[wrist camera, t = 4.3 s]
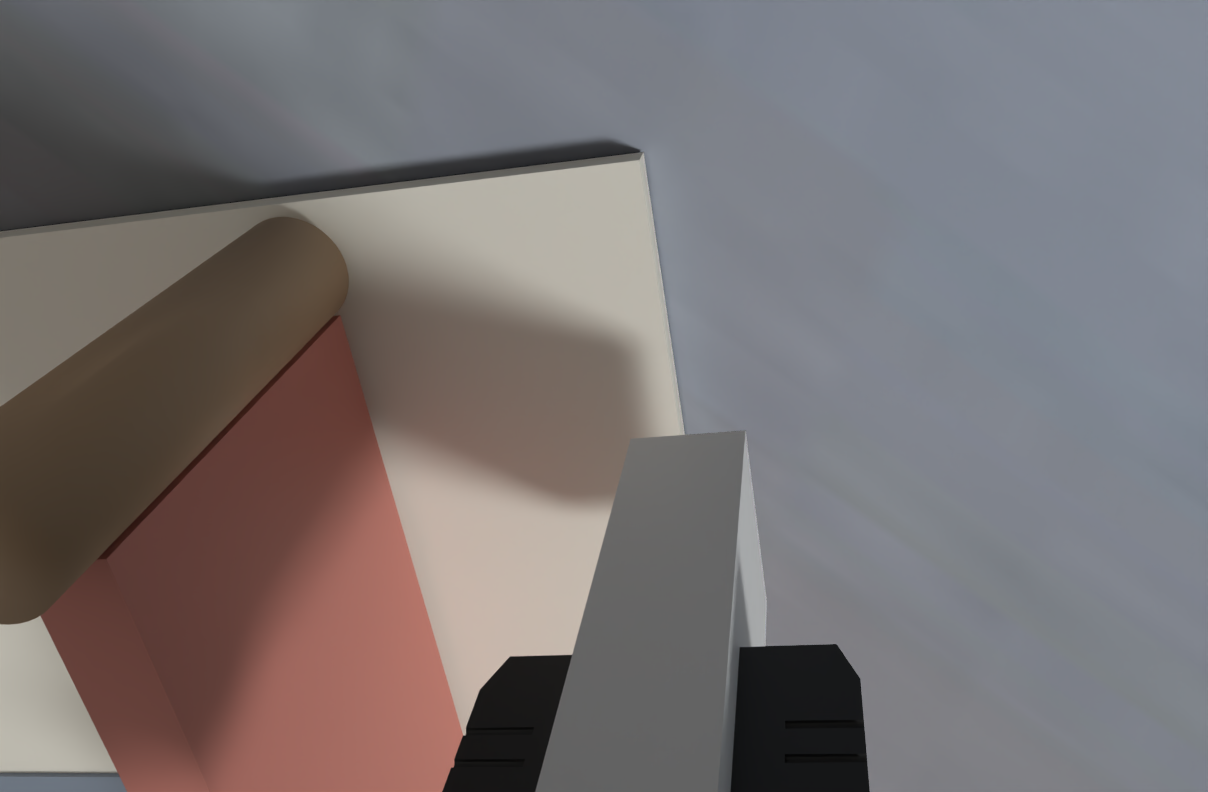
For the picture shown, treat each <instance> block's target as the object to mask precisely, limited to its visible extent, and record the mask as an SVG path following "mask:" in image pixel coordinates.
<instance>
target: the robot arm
mask: <svg viewBox="0 0 1208 792" xmlns="http://www.w3.org/2000/svg"><path fill="white" fill-rule="evenodd" d="M766 613H767V599H766V591H765V583H764V575H763V567H762V559H761V551H760V543H759V535H758V527H757V519H756V511H755V503H754V495H753V486H752V478H751V470H750V462H749V454H748V446H747V438H746V430H745V431H732V432H718V433H704V434H690V435H676V436H662V437H648V438H634V439H630V443H629V447H628V450H627V454H626V458H625V462H624V465H623V469H622V473H621V476H620V480H619V484H618V487H617V491H616V495H615V499H614V502H613V506H612V510H611V513H610V517H609V521H608V524H607V528H606V532H605V536H604V539H603V543H602V547H601V550H600V554H599V558H598V561H597V565H596V569H595V573H594V576H593V580H592V584H591V587H590V591H589V595H588V598H587V602H586V606H585V610H584V613H583V617H582V621H581V624H580V628H579V632H578V635H577V639H576V643H575V647H574V650H573V654H572V655H545V656H510V657H509V658H508V659H507V660H506V661H505V662H504V663H503V665H502V666H501V667H500V668H499V669H498V670H497V671H496V672H495V673H494V675H493V676H492V677H491V678H490V679H489V680H488V681H487V682H486V683H485V685H484V686H483V687H482V688H481V689H480V691H479V693H478V696H477V699H476V701H475V704H474V707H473V709H472V712H471V715H470V718H469V720H468V723H467V726H466V735H463V737H462V739H461V742H460V745H459V747H458V750H457V753H456V756H455V758H454V767H451V769H450V772H449V775H448V777H447V780H446V783H445V785H444V788H443V791H442V792H870V791H869V779H868V767H867V755H866V743H865V731H864V719H863V707H862V695H861V683H860V678H859V676H858V675H857V674H856V672H855V671H854V669H853V668H852V666H851V665H850V663H849V662H848V660H847V659H846V657H845V656H844V655H843V653H842V652H841V650H840V649H839V647H838V646H837V644H832V645H796V646H765V644H766Z"/></svg>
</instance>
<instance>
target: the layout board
mask: <svg viewBox="0 0 1208 792" xmlns="http://www.w3.org/2000/svg"><path fill="white" fill-rule="evenodd" d="M275 217H292V218H297V219H300V220H303V221H306V222H308V223H310V224H312V225H314V226H316V227H317V228H319V229H320V230H321V231H323V232H324V233H325V234H326V235H327V236H328V237H329V238H330V239H331V240H332V241H333V242H334V243H335V245H336V246H337V247H338V249H339V250H340V252H341V254H342V256H343V258H344V260H345V263H346V266H347V270H348V276H349V288H348V293H347V297H346V299H345V302H344V303H343V305H342V307H341V308H340V309H339V311H338V312H337V313H336V314H335V315H334V316H338V315H340V316H341V319H342V323H343V326H344V330H345V333H346V336H347V340H348V343H349V347H350V350H351V353H352V357H353V360H354V364H355V367H356V371H357V374H358V377H359V381H360V384H361V388H362V391H363V394H364V398H365V401H366V405H367V408H368V412H369V415H370V418H371V422H372V425H373V429H374V432H375V435H376V439H377V442H378V446H379V449H380V453H381V456H382V459H383V463H384V466H385V470H386V473H387V476H388V480H389V483H390V487H391V490H392V494H393V497H394V500H395V504H396V507H397V511H398V514H399V517H400V521H401V524H402V528H403V531H404V535H405V538H406V541H407V545H408V548H409V552H410V555H411V558H412V562H413V565H414V569H415V572H416V576H417V579H418V582H419V586H420V589H421V593H422V596H423V599H424V603H425V606H426V610H427V613H428V617H429V620H430V623H431V627H432V630H433V634H434V637H435V640H436V644H437V647H438V651H439V654H440V658H441V661H442V664H443V668H444V671H445V675H446V678H447V681H448V685H449V688H450V692H451V695H452V699H453V702H454V705H455V709H456V712H457V716H458V719H459V722H460V726H461V729H462V733H463V735H466V726H467V723H468V720H469V718H470V715H471V712H472V709H473V707H474V704H475V701H476V699H477V696H478V693H479V691H480V689H481V688H482V687H483V686H484V685H485V683H486V682H487V681H488V680H489V679H490V678H491V677H492V676H493V675H494V673H495V672H496V671H497V670H498V669H499V668H500V667H501V666H502V665H503V663H504V662H505V661H506V660H507V659H508V658H509V657H510V656H545V655H572V654H573V650H574V647H575V643H576V639H577V635H578V632H579V628H580V624H581V621H582V617H583V613H584V610H585V606H586V602H587V598H588V595H589V591H590V587H591V584H592V580H593V576H594V573H595V569H596V565H597V561H598V558H599V554H600V550H601V547H602V543H603V539H604V536H605V532H606V528H607V524H608V521H609V517H610V513H611V510H612V506H613V502H614V499H615V495H616V491H617V487H618V484H619V480H620V476H621V473H622V469H623V465H624V462H625V458H626V454H627V450H628V447H629V443H630V439H634V438H648V437H662V436H676V435H685V433H684V426H683V419H682V412H681V406H680V399H679V392H678V385H677V378H676V371H675V364H674V358H673V351H672V344H671V337H670V330H669V323H668V317H667V310H666V303H665V296H664V289H663V282H662V275H661V269H660V262H659V255H658V248H657V241H656V234H655V228H654V221H653V214H652V207H651V200H650V193H649V186H648V180H647V173H646V166H645V159H644V152H640V153H632V154H624V155H616V156H607V157H599V158H591V159H583V160H575V161H567V162H559V163H551V164H543V165H535V166H526V167H518V168H510V169H502V170H494V171H486V172H478V173H470V174H462V175H453V176H445V177H437V178H429V179H421V180H413V181H405V182H397V183H389V184H381V185H372V186H364V187H356V188H348V189H340V190H332V191H324V192H316V193H308V194H299V195H291V196H283V197H275V198H267V199H259V200H251V201H243V202H235V203H227V204H218V205H210V206H202V207H194V208H186V209H178V210H170V211H162V212H154V213H146V214H137V215H129V216H121V217H113V218H105V219H97V220H89V221H81V222H73V223H64V224H56V225H48V226H40V227H32V228H24V229H16V230H8V231H0V407H1V406H2V405H3V404H5V403H6V402H8V401H9V400H10V399H12V398H13V397H15V396H16V395H17V394H19V393H20V392H22V391H23V390H24V389H26V388H27V387H29V386H30V385H31V384H33V383H34V382H36V381H37V380H39V379H40V378H41V377H43V376H44V375H46V374H47V373H48V372H50V371H51V370H53V369H54V368H55V367H57V366H58V365H60V364H61V363H62V362H64V361H65V360H67V359H68V358H69V357H71V356H72V355H74V354H75V353H77V352H78V351H79V350H81V349H82V348H84V347H85V346H86V345H88V344H89V343H91V342H92V341H93V340H95V339H96V338H98V337H99V336H100V335H102V334H103V333H105V332H106V331H107V330H109V329H110V328H112V327H113V326H115V325H116V324H117V323H119V322H120V321H122V320H123V319H124V318H126V317H127V316H129V315H130V314H131V313H133V312H134V311H136V310H137V309H138V308H140V307H141V306H143V305H144V304H145V303H147V302H148V301H150V300H151V299H153V298H154V297H155V296H157V295H158V294H160V293H161V292H162V291H164V290H165V289H167V288H168V287H169V286H171V285H172V284H174V283H175V282H176V281H178V280H179V279H181V278H182V277H184V276H185V275H186V274H188V273H189V272H191V271H192V270H193V269H195V268H196V267H198V266H199V265H200V264H202V263H203V262H205V261H206V260H207V259H209V258H210V257H212V256H213V255H214V254H216V253H217V252H219V251H220V250H222V249H223V248H224V247H226V246H227V245H229V244H230V243H231V242H233V241H234V240H236V239H237V238H238V237H240V236H241V235H243V234H244V233H245V232H247V231H248V230H250V229H251V228H252V227H254V226H255V225H257V224H258V223H260V222H262V221H264V220H267V219H270V218H275ZM0 792H127V790H126V788H125V786H124V784H123V782H122V780H121V778H120V776H119V774H118V772H117V770H116V768H115V766H114V764H113V762H112V760H111V758H110V756H109V754H108V752H107V750H106V748H105V746H104V744H103V742H102V740H101V738H100V736H99V734H98V732H97V730H96V728H95V726H94V724H93V721H92V719H91V717H90V715H89V713H88V711H87V709H86V707H85V705H84V703H83V701H82V699H81V697H80V695H79V693H78V691H77V689H76V687H75V685H74V683H73V681H72V679H71V677H70V675H69V673H68V671H67V669H66V667H65V665H64V663H63V661H62V659H61V657H60V655H59V653H58V651H57V649H56V647H55V645H54V642H53V640H52V638H51V636H50V634H49V632H48V630H47V628H46V626H45V624H44V622H43V620H42V618H41V616H39V617H37V618H35V619H33V620H31V621H28V622H24V623H20V624H11V625H3V624H0Z"/></svg>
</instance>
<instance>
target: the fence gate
mask: <svg viewBox="0 0 1208 792" xmlns="http://www.w3.org/2000/svg"><path fill="white" fill-rule="evenodd" d="M348 288H349V276H348V270H347V266H346V263H345V260H344V258H343V256H342V254H341V252H340V250H339V249H338V247H337V246H336V245H335V243H334V242H333V241H332V240H331V239H330V238H329V237H328V236H327V235H326V234H325V233H324V232H323V231H321V230H320V229H319V228H317V227H316V226H314V225H312V224H310V223H308V222H306V221H303V220H300V219H297V218H292V217H275V218H270V219H267V220H264V221H262V222H260V223H258V224H257V225H255V226H254V227H252V228H251V229H250V230H248V231H247V232H245V233H244V234H243V235H241V236H240V237H238V238H237V239H236V240H234V241H233V242H231V243H230V244H229V245H227V246H226V247H224V248H223V249H222V250H220V251H219V252H217V253H216V254H214V255H213V256H212V257H210V258H209V259H207V260H206V261H205V262H203V263H202V264H200V265H199V266H198V267H196V268H195V269H193V270H192V271H191V272H189V273H188V274H186V275H185V276H184V277H182V278H181V279H179V280H178V281H176V282H175V283H174V284H172V285H171V286H169V287H168V288H167V289H165V290H164V291H162V292H161V293H160V294H158V295H157V296H155V297H154V298H153V299H151V300H150V301H148V302H147V303H145V304H144V305H143V306H141V307H140V308H138V309H137V310H136V311H134V312H133V313H131V314H130V315H129V316H127V317H126V318H124V319H123V320H122V321H120V322H119V323H117V324H116V325H115V326H113V327H112V328H110V329H109V330H107V331H106V332H105V333H103V334H102V335H100V336H99V337H98V338H96V339H95V340H93V341H92V342H91V343H89V344H88V345H86V346H85V347H84V348H82V349H81V350H79V351H78V352H77V353H75V354H74V355H72V356H71V357H69V358H68V359H67V360H65V361H64V362H62V363H61V364H60V365H58V366H57V367H55V368H54V369H53V370H51V371H50V372H48V373H47V374H46V375H44V376H43V377H41V378H40V379H39V380H37V381H36V382H34V383H33V384H31V385H30V386H29V387H27V388H26V389H24V390H23V391H22V392H20V393H19V394H17V395H16V396H15V397H13V398H12V399H10V400H9V401H8V402H6V403H5V404H3V405H2V406H1V407H0V624H3V625H11V624H20V623H24V622H28V621H31V620H33V619H35V618H37V617H39V616H41V618H42V620H43V622H44V624H45V626H46V628H47V630H48V632H49V634H50V636H51V638H52V640H53V642H54V645H55V647H56V649H57V651H58V653H59V655H60V657H61V659H62V661H63V663H64V665H65V667H66V669H67V671H68V673H69V675H70V677H71V679H72V681H73V683H74V685H75V687H76V689H77V691H78V693H79V695H80V697H81V699H82V701H83V703H84V705H85V707H86V709H87V711H88V713H89V715H90V717H91V719H92V721H93V724H94V726H95V728H96V730H97V732H98V734H99V736H100V738H101V740H102V742H103V744H104V746H105V748H106V750H107V752H108V754H109V756H110V758H111V760H112V762H113V764H114V766H115V768H116V770H117V772H118V774H119V776H120V778H121V780H122V782H123V784H124V786H125V788H126V790H127V792H442V791H443V788H444V785H445V783H446V780H447V777H448V775H449V772H450V769H451V767H454V758H455V756H456V753H457V750H458V747H459V745H460V742H461V739H462V737H463V733H462V729H461V726H460V722H459V719H458V716H457V712H456V709H455V705H454V702H453V699H452V695H451V692H450V688H449V685H448V681H447V678H446V675H445V671H444V668H443V664H442V661H441V658H440V654H439V651H438V647H437V644H436V640H435V637H434V634H433V630H432V627H431V623H430V620H429V617H428V613H427V610H426V606H425V603H424V599H423V596H422V593H421V589H420V586H419V582H418V579H417V576H416V572H415V569H414V565H413V562H412V558H411V555H410V552H409V548H408V545H407V541H406V538H405V535H404V531H403V528H402V524H401V521H400V517H399V514H398V511H397V507H396V504H395V500H394V497H393V494H392V490H391V487H390V483H389V480H388V476H387V473H386V470H385V466H384V463H383V459H382V456H381V453H380V449H379V446H378V442H377V439H376V435H375V432H374V429H373V425H372V422H371V418H370V415H369V412H368V408H367V405H366V401H365V398H364V394H363V391H362V388H361V384H360V381H359V377H358V374H357V371H356V367H355V364H354V360H353V357H352V353H351V350H350V347H349V343H348V340H347V336H346V333H345V330H344V326H343V323H342V319H341V316H340V315H338V316H334V315H335V314H336V313H337V312H338V311H339V309H340V308H341V307H342V305H343V303H344V302H345V299H346V297H347V293H348Z"/></svg>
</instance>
